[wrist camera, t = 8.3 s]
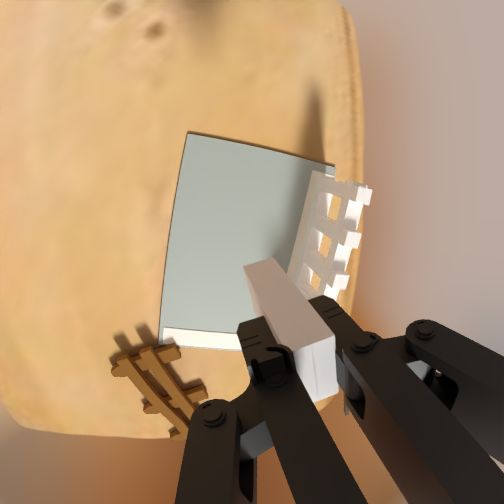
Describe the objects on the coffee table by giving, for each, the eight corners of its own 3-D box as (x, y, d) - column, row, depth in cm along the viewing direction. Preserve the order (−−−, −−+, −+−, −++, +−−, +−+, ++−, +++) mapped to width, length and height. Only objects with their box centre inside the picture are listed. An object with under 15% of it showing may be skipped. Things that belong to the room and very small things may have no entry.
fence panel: (292, 319, 37) (320, 361, 29) (281, 319, 37) (306, 361, 29) (329, 176, 32) (373, 186, 24) (316, 173, 32) (359, 182, 24)
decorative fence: (169, 334, 35) (103, 357, 34) (168, 343, 33) (101, 366, 32) (239, 436, 45) (188, 451, 44) (241, 445, 43) (188, 459, 42)
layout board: (187, 133, 29) (187, 133, 28) (334, 167, 33) (336, 167, 33) (158, 342, 35) (158, 344, 35) (284, 351, 40) (285, 352, 40)
